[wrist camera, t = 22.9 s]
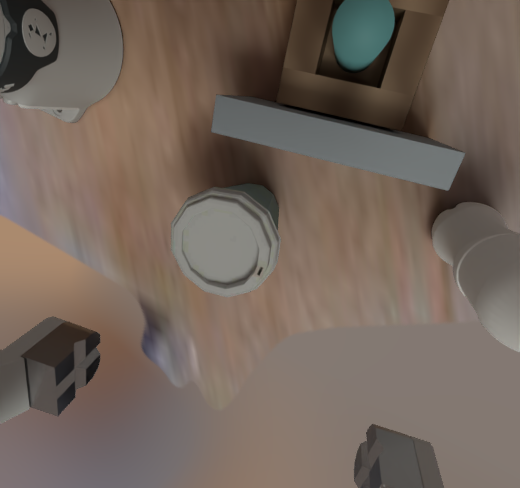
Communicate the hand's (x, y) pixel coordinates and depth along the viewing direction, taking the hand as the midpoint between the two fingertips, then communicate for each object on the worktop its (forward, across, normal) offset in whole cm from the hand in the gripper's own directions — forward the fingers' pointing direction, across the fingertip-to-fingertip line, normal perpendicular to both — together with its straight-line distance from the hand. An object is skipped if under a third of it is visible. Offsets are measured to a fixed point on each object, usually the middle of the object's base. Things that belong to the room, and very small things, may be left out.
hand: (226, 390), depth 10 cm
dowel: (+32, -1, -13) cm, 35 cm away
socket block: (+34, -1, -13) cm, 36 cm away
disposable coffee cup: (+34, +6, +6) cm, 35 cm away
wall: (+34, -1, -5) cm, 34 cm away
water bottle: (+34, -18, +2) cm, 39 cm away
